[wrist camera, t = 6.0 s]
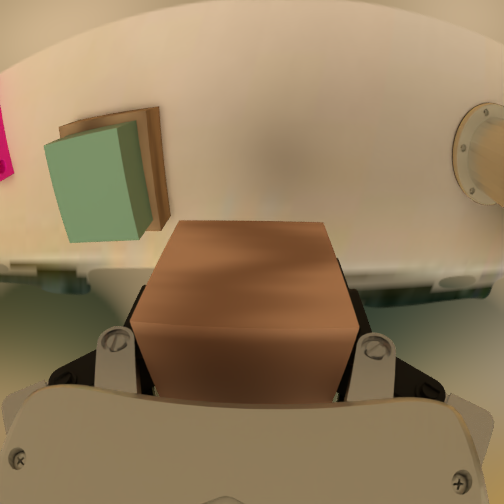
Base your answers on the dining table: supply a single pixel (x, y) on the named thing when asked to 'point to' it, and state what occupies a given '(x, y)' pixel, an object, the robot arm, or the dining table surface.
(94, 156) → the tower top
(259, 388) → the terracotta cube
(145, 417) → the robot arm
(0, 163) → the magenta curved bracket
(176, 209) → the dining table surface
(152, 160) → the tower base
